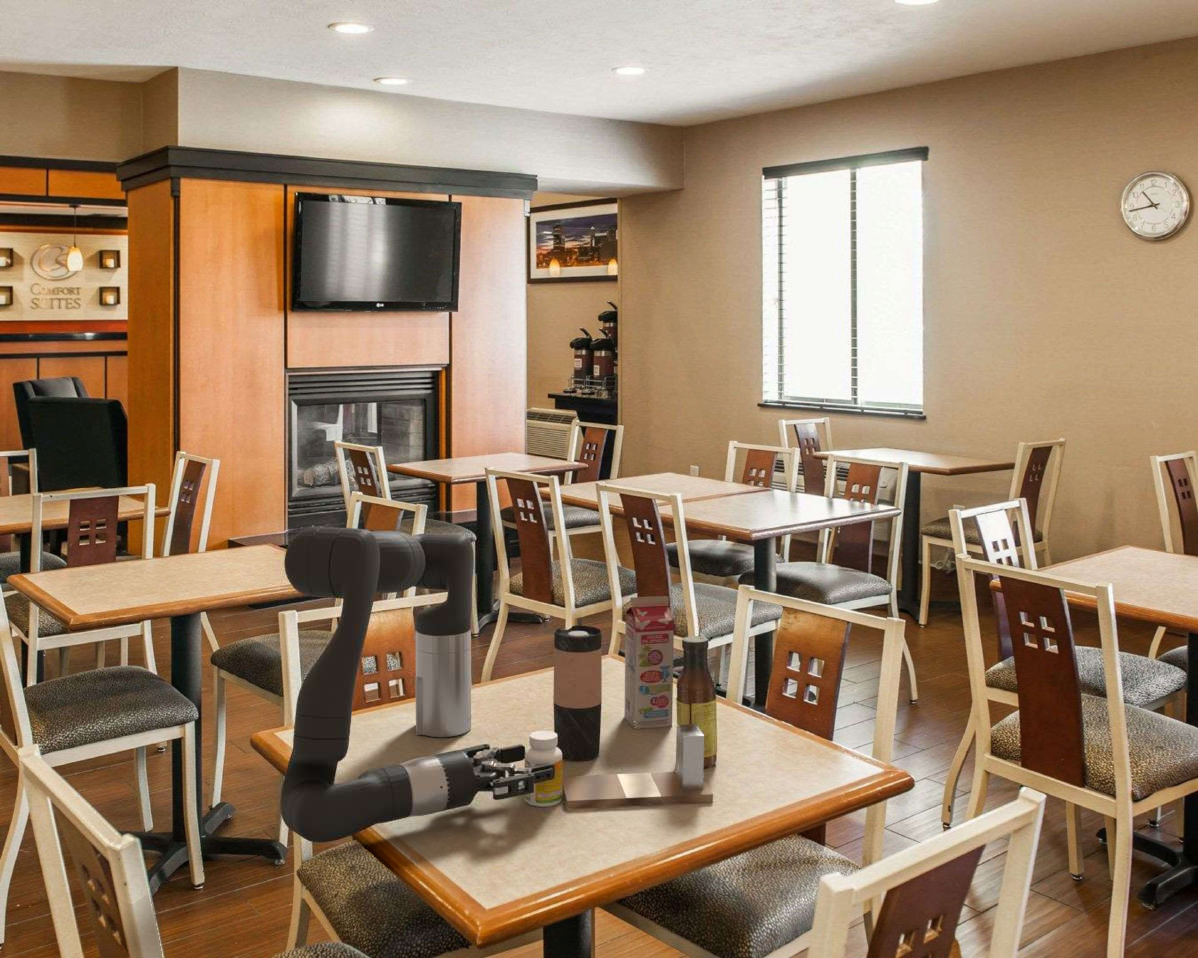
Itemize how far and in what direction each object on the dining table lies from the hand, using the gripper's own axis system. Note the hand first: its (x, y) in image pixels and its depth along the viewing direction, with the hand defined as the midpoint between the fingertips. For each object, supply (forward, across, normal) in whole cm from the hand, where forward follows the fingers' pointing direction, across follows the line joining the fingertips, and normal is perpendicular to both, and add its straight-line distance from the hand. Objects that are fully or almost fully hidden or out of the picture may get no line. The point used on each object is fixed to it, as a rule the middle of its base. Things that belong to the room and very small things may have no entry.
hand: (538, 760), depth 164 cm
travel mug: (+15, +13, +6) cm, 21 cm away
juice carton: (+33, +20, +6) cm, 39 cm away
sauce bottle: (+28, 0, +6) cm, 29 cm away
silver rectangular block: (+21, -8, +5) cm, 23 cm away
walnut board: (+14, -5, +6) cm, 16 cm away
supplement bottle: (+1, 0, +6) cm, 6 cm away
